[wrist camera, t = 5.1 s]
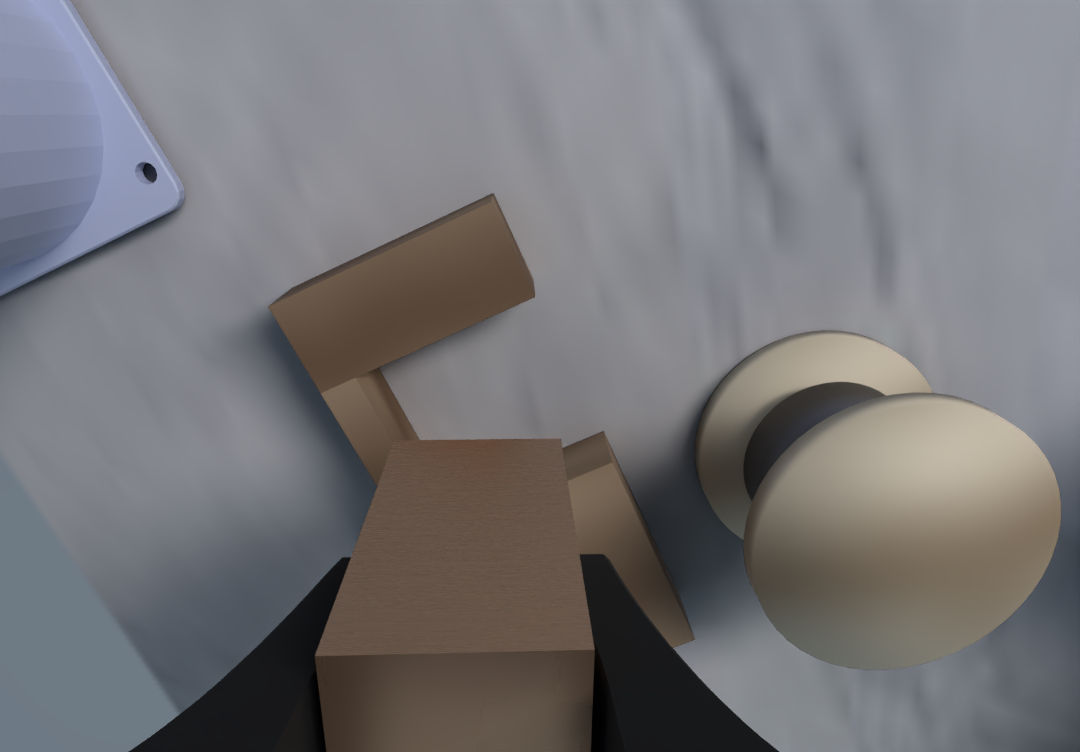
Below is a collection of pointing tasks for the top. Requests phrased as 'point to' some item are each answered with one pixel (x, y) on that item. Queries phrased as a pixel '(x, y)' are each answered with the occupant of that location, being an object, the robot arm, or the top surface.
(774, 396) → the spool
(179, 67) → the top surface
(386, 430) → the notched board
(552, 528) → the brown wooden block
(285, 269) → the top surface
